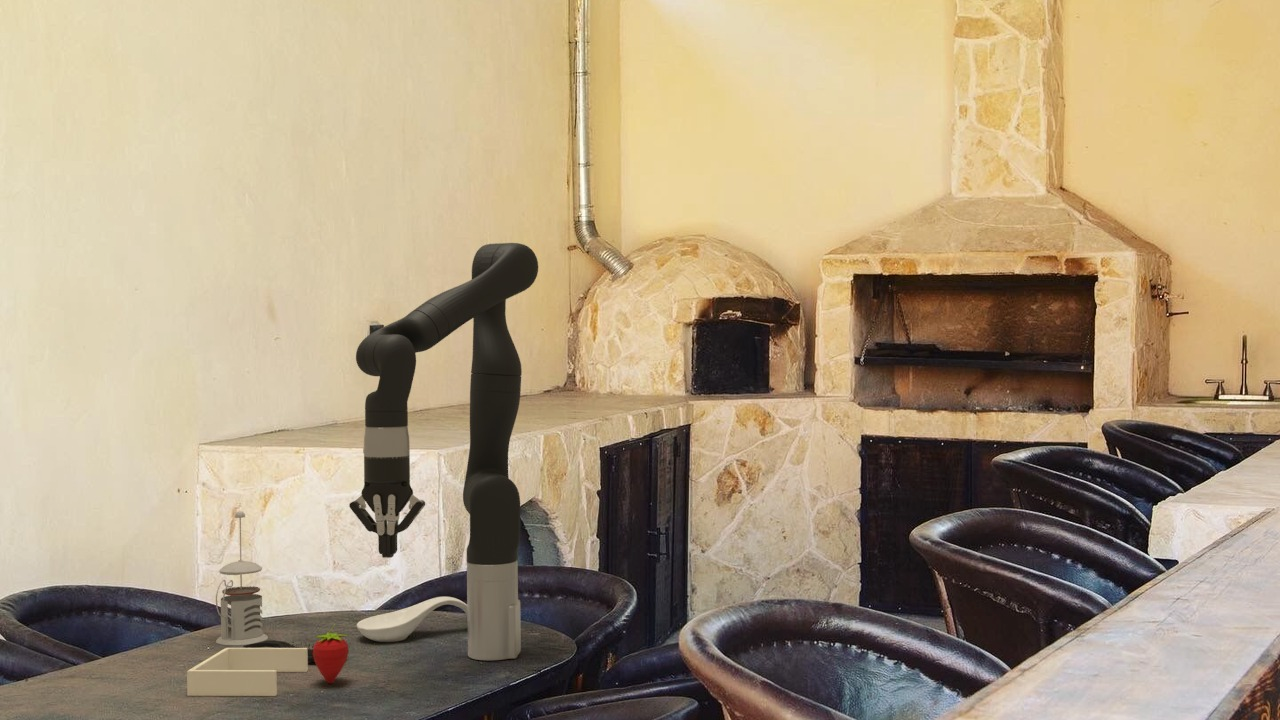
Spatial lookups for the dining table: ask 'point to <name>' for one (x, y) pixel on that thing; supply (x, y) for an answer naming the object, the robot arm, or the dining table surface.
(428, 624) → the dining table surface
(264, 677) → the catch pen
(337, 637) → the strawberry
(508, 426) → the robot arm
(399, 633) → the spoon rest
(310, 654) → the hairbrush
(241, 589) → the french press
